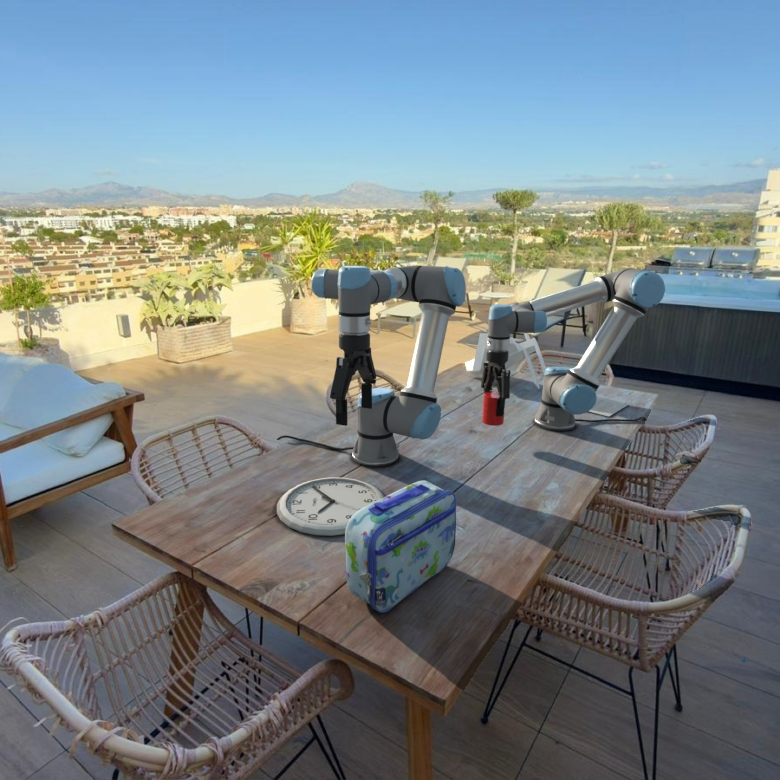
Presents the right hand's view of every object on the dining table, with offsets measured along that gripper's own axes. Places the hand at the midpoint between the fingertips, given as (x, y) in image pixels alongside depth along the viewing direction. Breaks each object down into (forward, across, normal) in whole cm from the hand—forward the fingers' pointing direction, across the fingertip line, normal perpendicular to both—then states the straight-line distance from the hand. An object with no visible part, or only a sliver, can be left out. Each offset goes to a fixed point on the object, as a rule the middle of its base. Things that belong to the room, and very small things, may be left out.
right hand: (493, 411), depth 188 cm
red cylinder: (+4, 0, 0) cm, 4 cm away
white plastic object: (+10, -58, +44) cm, 74 cm away
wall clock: (+9, +27, -68) cm, 73 cm away
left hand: (-18, +33, -62) cm, 73 cm away
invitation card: (+11, -14, +64) cm, 67 cm away
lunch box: (+10, +64, -62) cm, 90 cm away
